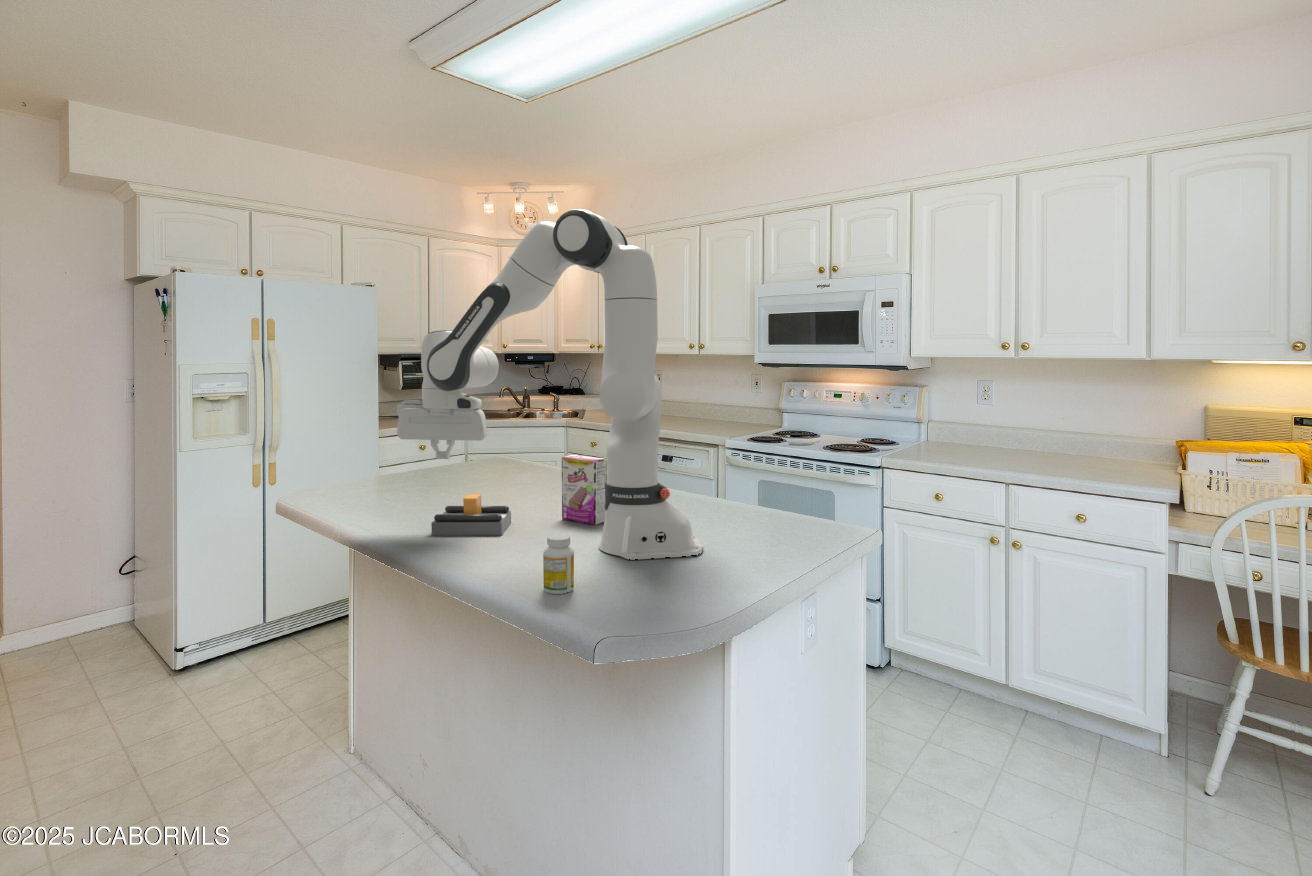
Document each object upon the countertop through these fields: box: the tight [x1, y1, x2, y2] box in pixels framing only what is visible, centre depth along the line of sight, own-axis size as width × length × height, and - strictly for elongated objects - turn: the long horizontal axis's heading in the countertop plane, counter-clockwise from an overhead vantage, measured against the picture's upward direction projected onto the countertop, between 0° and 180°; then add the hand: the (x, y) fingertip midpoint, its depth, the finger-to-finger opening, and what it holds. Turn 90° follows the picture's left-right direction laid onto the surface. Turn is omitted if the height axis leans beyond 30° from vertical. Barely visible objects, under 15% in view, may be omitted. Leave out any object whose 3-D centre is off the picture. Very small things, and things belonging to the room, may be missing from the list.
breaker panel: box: [430, 505, 512, 537], centre depth 154 cm, size 16×12×5 cm
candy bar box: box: [561, 454, 607, 526], centre depth 162 cm, size 11×5×16 cm, turn 58°
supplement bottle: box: [542, 533, 575, 595], centre depth 113 cm, size 5×5×10 cm
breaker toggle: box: [462, 493, 482, 514], centre depth 153 cm, size 3×5×4 cm, turn 2°
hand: (443, 458), depth 152 cm, fingers closed
